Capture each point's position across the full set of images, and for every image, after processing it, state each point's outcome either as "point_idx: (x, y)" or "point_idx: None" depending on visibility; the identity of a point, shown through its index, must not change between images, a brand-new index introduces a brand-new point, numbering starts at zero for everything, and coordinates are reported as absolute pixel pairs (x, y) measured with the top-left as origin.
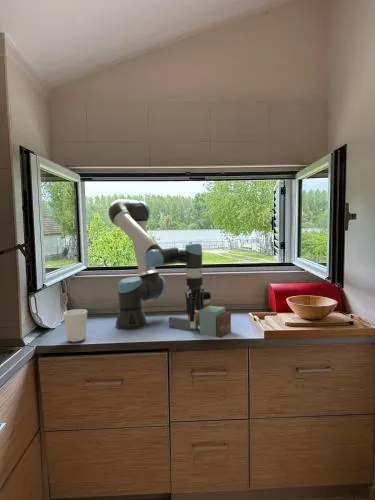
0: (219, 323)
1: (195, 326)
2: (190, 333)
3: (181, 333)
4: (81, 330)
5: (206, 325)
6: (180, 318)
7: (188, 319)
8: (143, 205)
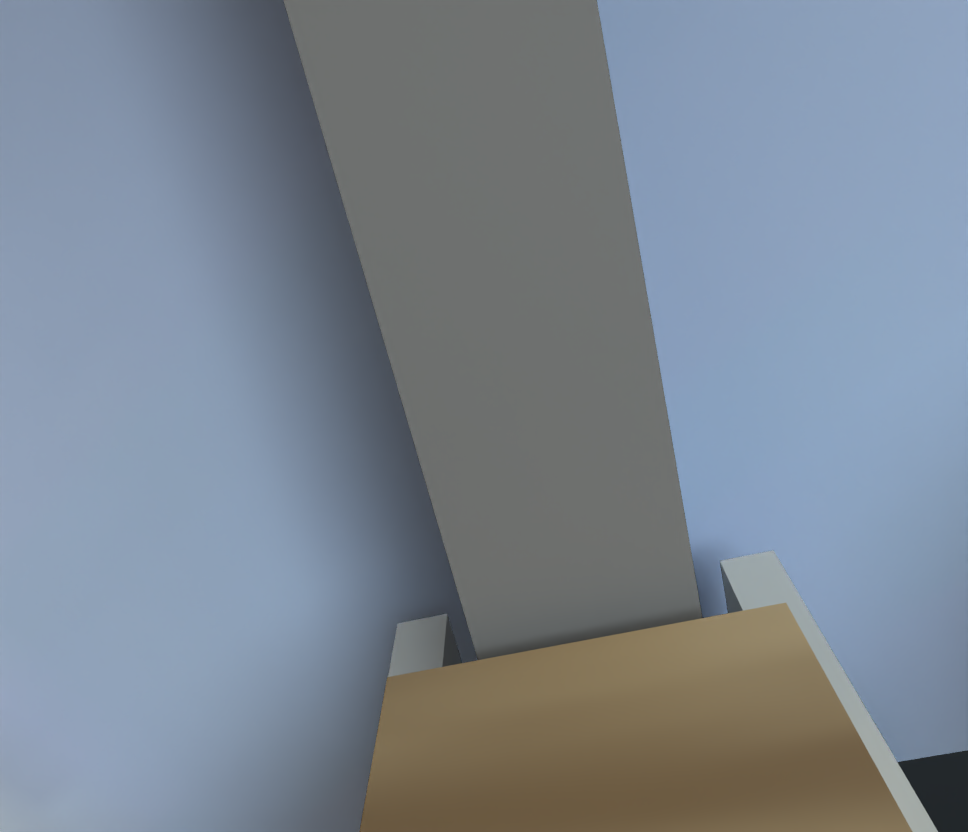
0: None
1: None
2: (277, 679)
3: (93, 521)
4: None
5: None
6: (430, 85)
7: (395, 712)
8: None
